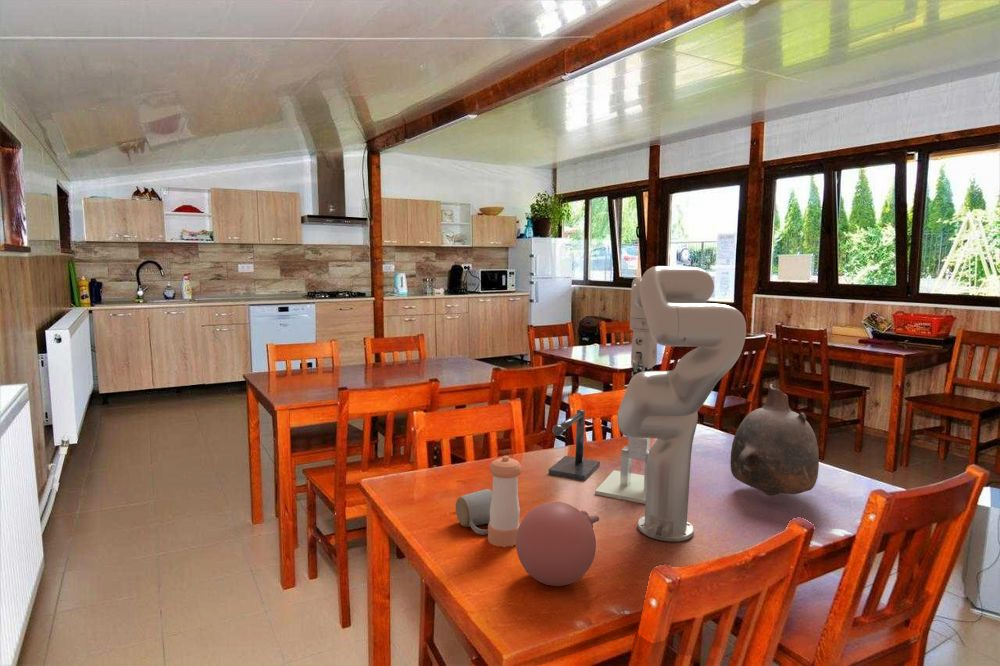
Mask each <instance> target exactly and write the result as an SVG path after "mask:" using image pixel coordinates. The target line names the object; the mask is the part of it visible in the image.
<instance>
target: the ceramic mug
mask: <svg viewBox="0 0 1000 666" xmlns="http://www.w3.org/2000/svg"><path fill="white" fill-rule="evenodd" d="M492 494H493V490H491V489H489V488H486V489H482V490H478V491H474V492H470V493H467V494H463V495H462V496H460V497H458V498H457V499H456V501H455V514H456V517H457V521H458V523H459V524H460V525H461V526H462V527H465V528H470V527H471V528H470V529H472V530H473V531H474V532H475V534H478V535H481V536H488V535H487V534H488V529H481V528H479V527H477V526H480V525H485V524H489V522H490V506H491V500H492Z"/></svg>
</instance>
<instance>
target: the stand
mask: <svg viewBox="0 0 1000 666" xmlns="http://www.w3.org/2000/svg"><path fill="white" fill-rule="evenodd" d="M585 415H586V410H585V409H577V410H576V413H575V414H573V415H572V416H570V417H568V418H567V419H566V420H564V421H562V422H561V423H560V424H555V425H553V427H552V433H553V434H554V436H557V437H559V436H562V435H563V434H564V431H565V430H567V429H569V428H570V427H571V426H572V425H574V424H576V425H575V426H576V427H575V429H576V431H575V453H574V454H575V455H574V456H569V455H564V456H563V457H562V458H560V460H559V461H557V462H556V463H555V464H553V465H552V466H551V467H549V469H548V476H549V475H550V476H556V477H561V478H566V479H571V480H577V481H581V482H586V480H588V479H589V477H590V476H592V474H593V473H595V472H596V471H597V470H598V468H600V467H601V462H600V461H599V460H593V459H587V458H584V448H585V446H584V445H585V424H586V423H585V420H586V419H585V418H586V416H585Z"/></svg>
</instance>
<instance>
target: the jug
mask: <svg viewBox="0 0 1000 666" xmlns="http://www.w3.org/2000/svg"><path fill="white" fill-rule="evenodd" d="M789 405H790V404H789V397H788V395H787V394H786V393H784V392H783V391H782V390H779V389H778V388H777V387H776V386H775V384H773V383H770V384H769V386H768V393H767V396H766V400H765V403H764V405H763V406H762V407H759V408H755V409H754V410H752V411H750V412H749V413H748V414H746V416H745V417H744V418H743V420H742V421H741V423H740V424H739V426H738V428H737V429H736V432H735V434H734V437H733V440H732V444H731V450H730V462H729V463H730V471H731V474H732V476H733V477H734V478H735V479H736V480H737V481H739V482H741V483H742V484H745V485H747V486H749V487H751V488H753V489H757V490H759V491H761V492H762V493H764V494H765V495H767V496H770V497H772V496H777V495H798V494H803V493H806V492H808V491H811V490H812V489H813V488H814V487H815V485H816V483H817V480H818V476H819V468H820V467H819V466H820V465H819V464H820V459H819V458H820V456H819V454H820V452H819V445H818V441H817V437H816V434H815V432H814V429H813V428H812V426H811V425H810V423H809V421H807V416H806V414H805V413H804V412H800V413H797V412H796V411H793V410H792V409H791V408H790V406H789Z"/></svg>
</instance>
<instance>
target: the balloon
mask: <svg viewBox="0 0 1000 666" xmlns="http://www.w3.org/2000/svg"><path fill="white" fill-rule="evenodd" d="M599 521H600V517H599V516H598V515H589V513H588V512H587V511H586V510H583V509H582V510H581V511H580V510H579V509H578V508H576V507H575V506H573V505H571V504H568V503H565V502H560V501H548V502H544V503H541V504H539V505H537V506H535V507H534V508H532V509H531V510H529V511H528V512H527V513H526V514H525V516H524V517H523V519H522V520H521V522H520V526H519V528H518V532H517V537H516V545H515V549H516V553H517V554H516V555H517V558H518V559H519V562H520V564H521V566H522V568H523V569H524V570H525V571H526V573H527V574H528V575H529V576H530V577H532V578H533V579H534V580H535V581H538V582H540V584H541V583H542V584H544V585H547V586H551V587H553V586H554V587H561V586H563V587H564V586H567V585H570V584H573V583H575V582H577V581H578V580H581V579H582V577H584V576H585V575H586V573H587V572H588V571H589V569H590V568H591V566H592V565H593V562H594V559H595V555H596V551H597V550H596V549H597V540H596V534H595V531H594V524H595V523H596V522H597V523H598V522H599Z"/></svg>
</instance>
